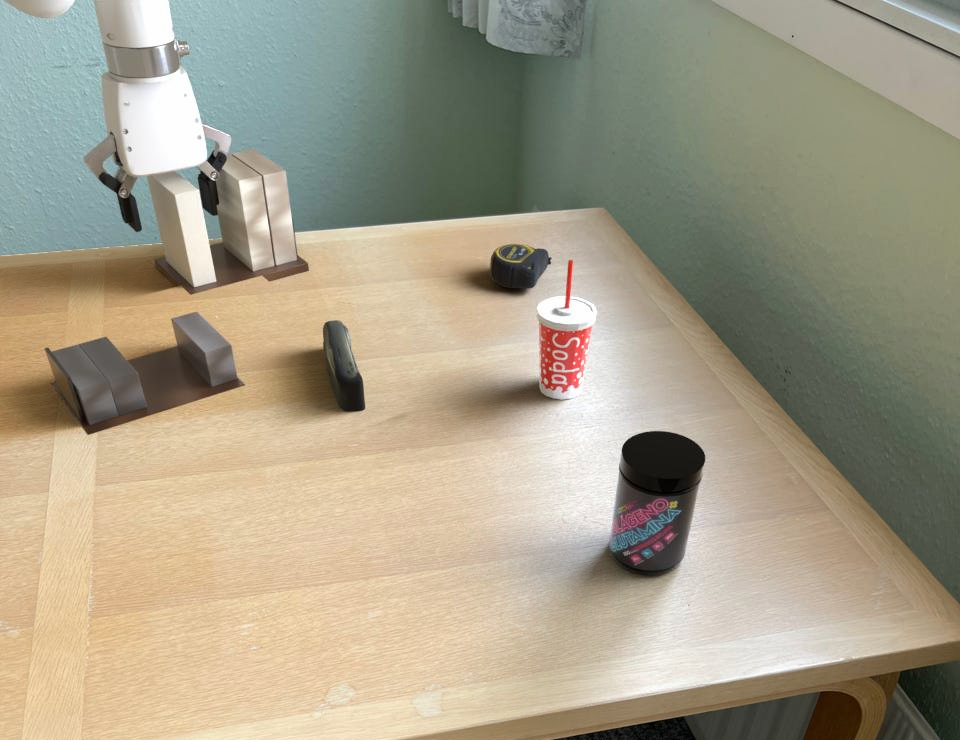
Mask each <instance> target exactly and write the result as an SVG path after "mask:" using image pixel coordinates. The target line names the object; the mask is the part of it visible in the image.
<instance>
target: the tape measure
mask: <svg viewBox="0 0 960 740" xmlns="http://www.w3.org/2000/svg"><path fill="white" fill-rule="evenodd" d="M552 258H553V257H550V255H549V252H548V250H547V249H545V248H538V247H537V248H535V247H532V246H530V245H528V244H523V243H508V244H503V245H501V246H499V247H497V248H496V249H495V250H494V251H493V252H492V254H491V257H490V264H489V266H490V267H489V272H490V273H489V274H490V277H491V279H492V280H493V281H494V282H495V283H496V284H498V285H500V286H502V287H505V288H509V289H533V288H535V287H536V285H537V283H538V280H539V279H540V278H541V276H543V274H544V273H545V272H546V270H547V268H548V265H549V266H550V265H551V264H552Z"/></svg>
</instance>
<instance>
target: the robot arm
mask: <svg viewBox="0 0 960 740" xmlns="http://www.w3.org/2000/svg"><path fill="white" fill-rule="evenodd" d="M3 1H4V2H6V3H7V4H8V5H10V6H11V7H13V8H14V9H16V10H17V11H20V12H22V13H24V14H25V15H29V16H31V17H34V18H37V19H38V18H39V19H52V18H57V17H60V16H62V15H63V14H64V13H66V12H67V11H68V10H69V9H70V8H71V7H72V6H73V4H74V3H75V1H76V0H3ZM93 4H94V9H95V14H96V18H97V23H98V27H99V32H100V37H101V41H102V42H101V43H102V47H103V51H104V55H105V56H104V57H105V60H106V65H107V69H108V71H107V72H103V73H102V74H101V94H102V104H103V114H104V121H105V127H106V134H107V136H106V137H105V138H104V139H102V141H100V142H99V143H98V144H97V145H96V146H94V148H92V149H91V150H90V151H89V152H88V153H87V154H85V156H84V157H83V163H84V164H85V165H86V166H87V168H88V169H89V170H90V172H91V173H92V174H93V175H94V176H95V177H96V179H97V180H98V181H99V182H101V183H102V185H104V186H105V187H106V188H108V189H109V190H111V191H112V192H114V193H115V194H116V198H117V202H118V206H119V211H120V215H121V218H122V221H123V222H124V223H125V224H126V225H127V224H128V226H129V227H130V228H131V229H132V230H133V231H134V232H136V233H139V232H141V231H142V230H143V225H142V222H141V218H140V212H139V207H138V203H137V198H136V197H135V195H134V194H132V193H131V192H132V191H133V188H134V186H135V184H136V182H137V179H138V178H144V177H147V176H151V175H156V174H162V173H168V172H173V171H175V172H179V171H182V170H183V171H184V170H189V169H192V168H193V169H194V168H196V169H198V170H199V173H198V174H197V183H198V188H199V189H198V190H199V194H200V199H201V204H202V209H203V210H204V211H206V212H207V213H208V214H209V215H210V216H212V217H216V216H218V211H217V205H219V197H218V191H217V185H216V180H217V179H218V178H219V172H220V170H221V169H222V167H223V166H224V164H225V163H226V161H227V154H229V152H230V147H231V143H232V140H233V139H232V136H231V135H230V134H229V133H227V132H226V131H223V130H221V129H219V128H216V127H214V126H211V125H208V124H206V123H204V122H202V120H201V115H200V111H199V108H198V104H197V101H196V96H195V94H194V90H193V87H192V84H191V82H190V79H189V76H188V73H187V70H186V69H185V68H184V67H183V66H182V62H181V59H182V58H183V57H184V56H189V55H190V47H189V44H188V41H187V40H181V41H180V39H179V40H178V39H177V38H176V37H175V30H174V25H173V21H172V15H171V7H170V2H169V0H93ZM206 139H208V140H212V141H213V142H214V144H215V145H214V149H213V150H212V152H211V153H210V155H209V157H208V150H207V142H206ZM109 158H112V161H113V163H114V164H115V165H116V166H117V169H116V172H115V174H114V176H112V174H109V172H108V171H107V170H106V169H105V168H104V166H103V165H104V162H105V161H107V160H108V159H109Z"/></svg>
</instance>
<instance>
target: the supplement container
mask: <svg viewBox="0 0 960 740" xmlns="http://www.w3.org/2000/svg"><path fill="white" fill-rule="evenodd" d="M705 463H706V454H705V451H704V450H703V448H702V447H701V445H699V444H698V443H697V442H696V441H695V440H693V439H691V438H689V437H687V436H685V435H682V434H680V433H676V432H673V431H667V430H666V431H664V430H650V431H645V432H639V433H637V434H634V435H632V436H630V437H629V438H627V439H626V441H625V442H624V443H623V444H622V447H621V452H620V458H619V463H618V476H617V484H616V490H615V492H616V493H615V497H614V504H613V510H612V511H613V513H612V519H611V526H610V532H609V533H610V535H609V540H608V541H609V542H608V548H609V551H610V552H609V553H610V554H611V557H612V558H613V559H614V561H615V562H616V563H617V564H618V565H619V566H621V567H622V568H623V569H625V570H627V571H629V572H631V573H633V574H638V575H643V576H657V575H662V574H666V573H668V572H670V571H673V570H674V569H676V568H677V567H678V566H679V565H680V564H681V563H682V561H683V559H684V558H685V555H686V550H687V546H688V542H689V536H690V532H691V527H692V523H693V518H694V513H695V509H696V504H697V499H698V494H699V490H700V485H701V483H702V478H703V476H704V475H703V474H704V473H703V472H704V468H705Z"/></svg>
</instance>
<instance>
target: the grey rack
mask: <svg viewBox="0 0 960 740" xmlns="http://www.w3.org/2000/svg"><path fill="white" fill-rule="evenodd" d="M170 320H171V324H172V329H173V333H174V338H175V342H176V346H172V347H169V348H165V349H162V350H158V351H155V352H151V353H148V354H145V355H141V356H137V357H134V358H131V359H130V358H129V359H127V358H125V356H124V355H123V354H122V353H121V351H119V349H118V348H117V347H116V346H115V344H114V343H113V342H112V341H111V340H110V339H109V338H108V336H103V337H100V338H95V339H91V340H88V341H84V342H81V343H78V344H74V345H70V346H67V347H63V348H59V349H56V350H51V349H50V348H49V347H45V348H44V351H45V354H46V358H47V360H48V364H49V366H50V369H51V372H52V375H53V377H54V381H51V382H50V385H51V386H52V387H53V389H54V390H55V392H56V393H57V395H58V396H59V397H60V399H61V401H63V403H64V404H65V406H66V407H67V408H68V409H69V411H70V412H71V414H72V415H73V416H74V418H75V419H76V420H77V422H78V423H79V425H80V426H81V427H82V429H83V430H84V432H85V433H86V435H87V436H89V435H93V434H96V433H100V432H102V431H105V430H108V429H111V428H112V429H113V428H115V427H119V426H121V425H124V424H128V423H131V422H134V421H137V420H140V419H143V418H147V417H149V416H153V415H156V414H159V413H162V412H165V411H169V410H172V409H175V408H178V407H181V406H184V405H187V404H191V403H195V402H197V401H200V400H204V399H207V398H209V397H212V396H216V395H219V394H222V393H226V392H229V391H231V390H235V389H239V388H241V387H245V386H246V384H245V383H244V381H242V380H241V378H240V377H239V376H238V373H237V368H236V361H235V357H234V352H233V347H232V343H230V342H229V341H228V340H227V339H226V338H225V337H224V336H223V335H222V334H221V333H220V332H219V331H218V330H217V329H215V328H214V326H213V325H211V323H209V322H208V321H207V320H206V319H205V318H204V317H203V316H202V315H201V314H200V313H199V312H198V311H193V312H190V313H185V314H183V315H179V316H175V317H171V319H170Z"/></svg>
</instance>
